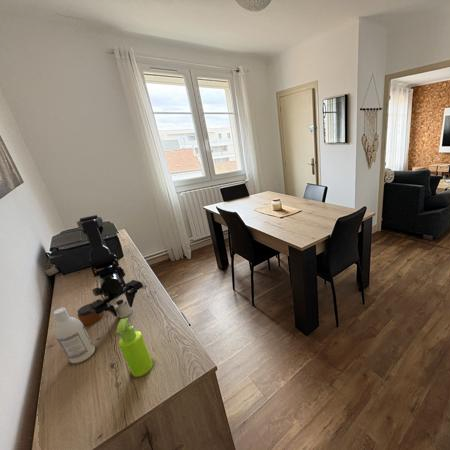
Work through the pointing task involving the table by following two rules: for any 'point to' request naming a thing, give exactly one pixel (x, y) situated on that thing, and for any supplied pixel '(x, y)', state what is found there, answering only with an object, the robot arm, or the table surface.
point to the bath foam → (72, 337)
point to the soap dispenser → (134, 349)
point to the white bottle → (122, 309)
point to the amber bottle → (87, 315)
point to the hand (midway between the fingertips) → (123, 311)
